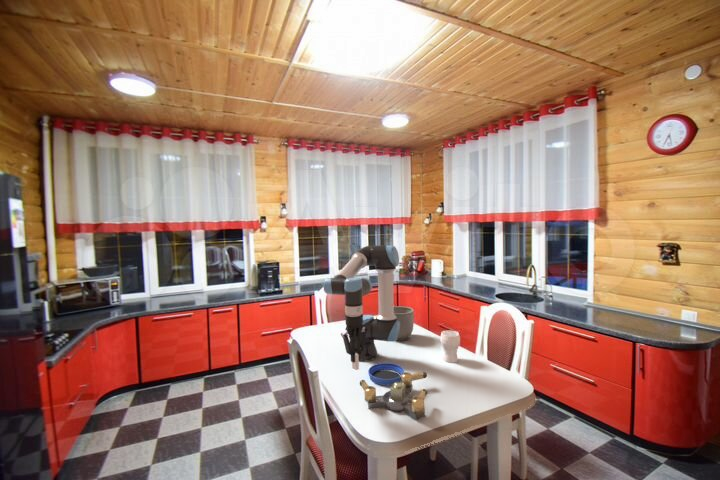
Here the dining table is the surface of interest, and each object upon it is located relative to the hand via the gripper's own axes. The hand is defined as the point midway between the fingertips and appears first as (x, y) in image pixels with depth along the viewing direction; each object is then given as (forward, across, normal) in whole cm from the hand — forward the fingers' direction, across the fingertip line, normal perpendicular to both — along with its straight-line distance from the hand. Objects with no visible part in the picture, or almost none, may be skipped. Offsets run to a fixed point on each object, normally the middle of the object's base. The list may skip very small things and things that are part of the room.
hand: (355, 368), depth 136 cm
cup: (+15, +66, 0) cm, 67 cm away
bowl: (+15, +25, +8) cm, 31 cm away
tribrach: (+15, +15, -11) cm, 24 cm away
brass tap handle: (+12, +28, -8) cm, 31 cm away
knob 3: (+12, +4, -2) cm, 13 cm away
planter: (+15, +68, +43) cm, 82 cm away
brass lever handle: (+12, +16, -22) cm, 30 cm away
